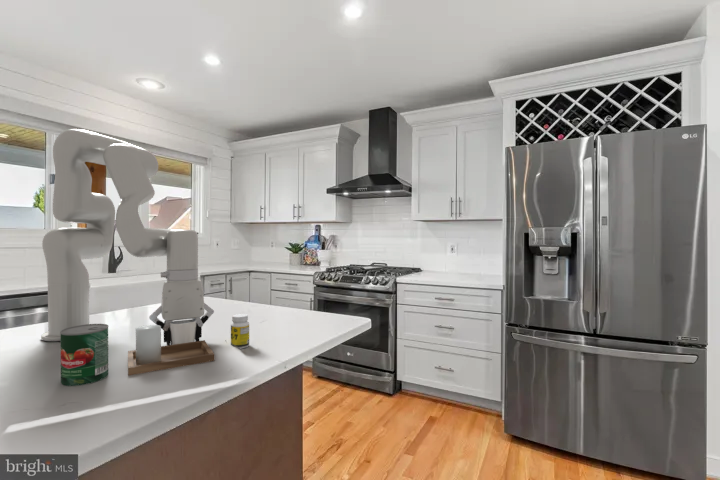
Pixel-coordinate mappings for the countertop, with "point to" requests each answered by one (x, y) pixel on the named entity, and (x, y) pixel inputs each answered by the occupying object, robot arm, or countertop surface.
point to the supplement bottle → (240, 331)
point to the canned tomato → (84, 354)
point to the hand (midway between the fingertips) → (183, 341)
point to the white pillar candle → (148, 344)
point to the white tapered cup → (182, 331)
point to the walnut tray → (173, 357)
